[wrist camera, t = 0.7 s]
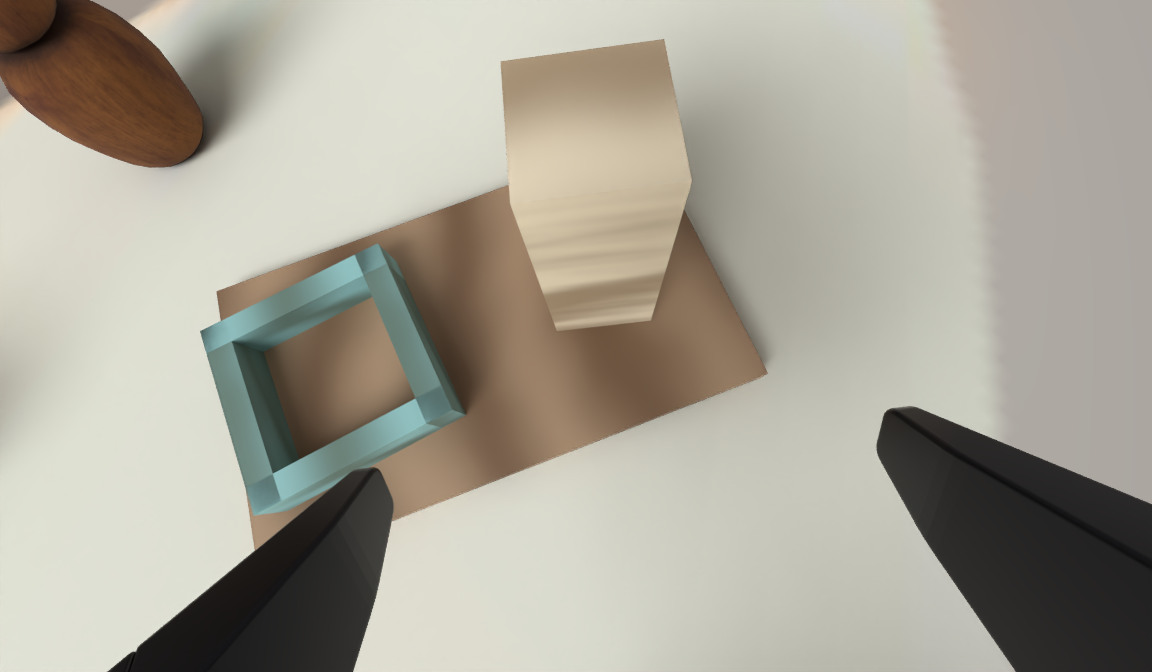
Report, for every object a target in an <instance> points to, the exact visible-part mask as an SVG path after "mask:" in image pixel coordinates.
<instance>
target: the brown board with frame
mask: <svg viewBox="0 0 1152 672" xmlns="http://www.w3.org/2000/svg"><path fill="white" fill-rule="evenodd" d="M217 298H218V305H219V311H220V318H221V321H220V322H218V323H216V324H214V325H212V326H210V327H208V328H206V329H204V330H202V331H200V333H201V336H202V339H203V343H204V346H205V350H206V353H207V357H208V360H209V364H210V367H211V370H212V374H213V377H214V381H215V384H216V388H217V391H218V394H219V398H220V401H221V405H222V408H223V412H224V415H225V419H226V422H227V425H228V429H229V432H230V436H231V439H232V443H233V446H234V450H235V453H236V456H237V460H238V463H239V467H240V470H241V474H242V477H243V481H244V484H245V487H246V494H247V501H248V507H249V514H250V521H251V528H252V534H253V541H254V548H255V550H256V549H257V548H259V547H260V546H261V545H262V544H264V543H265V542H266V541H267V540H268V539H270V538H271V537H272V536H273V535H274V534H276V533H277V532H278V531H279V530H281V529H282V528H283V527H284V526H285V525H287V524H288V523H289V522H290V521H291V520H293V519H294V518H295V517H296V516H298V515H299V514H300V513H301V512H302V511H304V510H305V509H306V508H307V507H309V506H310V505H311V504H312V503H313V502H315V501H316V500H317V499H318V498H319V497H321V496H322V495H323V494H324V493H326V492H327V491H328V490H329V489H330V488H332V487H333V486H334V485H335V484H336V483H338V482H339V481H340V480H341V479H343V478H344V477H345V476H346V475H347V474H349V473H350V472H351V471H353V470H355V469H361V468H370V467H375V468H378V469H379V470H380V471H381V473H382V475H383V477H384V480H385V482H386V484H387V486H388V489H389V491H390V493H391V496H392V498H393V502H394V512H393V517H392V521H394V520H396V519H399V518H401V517H404V516H406V515H409V514H411V513H414V512H417V511H419V510H422V509H424V508H427V507H429V506H432V505H435V504H437V503H440V502H442V501H445V500H447V499H450V498H453V497H455V496H458V495H460V494H463V493H465V492H468V491H471V490H473V489H476V488H478V487H481V486H483V485H486V484H489V483H491V482H494V481H496V480H499V479H501V478H504V477H506V476H509V475H512V474H514V473H517V472H519V471H522V470H524V469H527V468H530V467H532V466H535V465H537V464H540V463H542V462H545V461H548V460H550V459H553V458H555V457H558V456H560V455H563V454H566V453H568V452H571V451H573V450H576V449H578V448H581V447H584V446H586V445H589V444H591V443H594V442H596V441H599V440H601V439H604V438H607V437H609V436H612V435H614V434H617V433H619V432H622V431H625V430H627V429H630V428H632V427H635V426H637V425H640V424H643V423H645V422H648V421H650V420H653V419H655V418H658V417H661V416H663V415H666V414H668V413H671V412H673V411H676V410H678V409H681V408H684V407H686V406H689V405H691V404H694V403H696V402H699V401H702V400H704V399H707V398H709V397H712V396H714V395H717V394H720V393H722V392H725V391H727V390H730V389H732V388H735V387H738V386H740V385H743V384H745V383H748V382H750V381H753V380H756V379H758V378H761V377H762V376H764V375H766V374H767V371H766V369H765V367H764V365H763V363H762V361H761V359H760V357H759V355H758V353H757V351H756V349H755V347H754V345H753V343H752V341H751V339H750V337H749V336H748V334H747V332H746V330H745V328H744V326H743V324H742V322H741V320H740V318H739V316H738V314H737V312H736V310H735V308H734V306H733V304H732V302H731V300H730V298H729V296H728V294H727V293H726V291H725V289H724V287H723V285H722V283H721V281H720V279H719V277H718V275H717V273H716V271H715V269H714V267H713V265H712V263H711V261H710V259H709V257H708V255H707V253H706V252H705V250H704V248H703V246H702V244H701V242H700V240H699V238H698V236H697V234H696V232H695V230H694V228H693V226H692V224H691V222H690V220H689V218H688V216H687V214H686V212H685V210H684V211H683V214H682V217H681V221H680V224H679V227H678V231H677V234H676V238H675V241H674V244H673V248H672V251H671V254H670V258H669V261H668V265H667V268H666V271H665V275H664V278H663V281H662V285H661V288H660V292H659V295H658V298H657V302H656V305H655V308H654V312H653V315H652V318H651V321H643V322H634V323H625V324H617V325H608V326H599V327H590V328H582V329H573V330H564V331H557V330H556V327H555V324H554V322H553V319H552V316H551V314H550V311H549V308H548V305H547V303H546V300H545V297H544V295H543V292H542V289H541V286H540V284H539V281H538V278H537V276H536V273H535V270H534V267H533V265H532V262H531V259H530V257H529V254H528V251H527V248H526V246H525V243H524V240H523V238H522V235H521V232H520V230H519V227H518V224H517V221H516V219H515V216H514V213H513V211H512V208H511V205H510V195H509V185H508V186H505V187H502V188H500V189H497V190H494V191H491V192H489V193H486V194H483V195H480V196H478V197H475V198H472V199H469V200H467V201H464V202H461V203H458V204H456V205H453V206H450V207H447V208H445V209H442V210H439V211H436V212H434V213H431V214H428V215H425V216H423V217H420V218H417V219H414V220H412V221H409V222H406V223H403V224H401V225H398V226H395V227H392V228H390V229H387V230H384V231H381V232H379V233H376V234H373V235H370V236H368V237H365V238H362V239H359V240H357V241H354V242H351V243H348V244H346V245H343V246H340V247H337V248H335V249H332V250H329V251H326V252H324V253H321V254H318V255H315V256H313V257H310V258H307V259H304V260H302V261H299V262H296V263H293V264H291V265H288V266H285V267H282V268H280V269H277V270H274V271H271V272H269V273H266V274H263V275H260V276H258V277H255V278H252V279H249V280H247V281H244V282H241V283H238V284H236V285H233V286H230V287H227V288H225V289H222V290H219V291H217Z"/></svg>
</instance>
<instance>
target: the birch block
mask: <svg viewBox="0 0 1152 672" xmlns="http://www.w3.org/2000/svg"><path fill="white" fill-rule="evenodd" d="M501 74H502V89H503V104H504V119H505V134H506V150H507V165H508V180H509V195H510V205H511V208H512V211H513V213H514V216H515V219H516V221H517V224H518V227H519V230H520V232H521V235H522V238H523V240H524V243H525V246H526V248H527V251H528V254H529V257H530V259H531V262H532V265H533V267H534V270H535V273H536V276H537V278H538V281H539V284H540V286H541V289H542V292H543V295H544V297H545V300H546V303H547V305H548V308H549V311H550V314H551V316H552V319H553V322H554V324H555V327H556V330H557V331H564V330H573V329H582V328H590V327H599V326H608V325H617V324H625V323H634V322H643V321H651V318H652V315H653V312H654V308H655V305H656V302H657V298H658V295H659V292H660V288H661V285H662V281H663V278H664V275H665V271H666V268H667V265H668V261H669V258H670V254H671V251H672V248H673V244H674V241H675V238H676V234H677V231H678V227H679V224H680V221H681V217H682V214H683V211H684V207H685V204H686V200H687V197H688V194H689V190H690V187H691V184H692V178H691V173H690V168H689V163H688V158H687V153H686V148H685V143H684V137H683V132H682V127H681V122H680V117H679V112H678V107H677V102H676V97H675V92H674V87H673V82H672V77H671V72H670V67H669V62H668V57H667V52H666V47H665V42H664V39H662V40H655V41H647V42H640V43H633V44H625V45H618V46H611V47H603V48H596V49H589V50H581V51H574V52H567V53H559V54H552V55H544V56H537V57H530V58H522V59H515V60H508V61H501Z"/></svg>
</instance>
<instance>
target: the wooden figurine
mask: <svg viewBox="0 0 1152 672" xmlns="http://www.w3.org/2000/svg"><path fill="white" fill-rule="evenodd" d="M0 76H1V78H2V80H3V82H4V84H5V86H6V88H7V89H8V91H9V93H10V94H11V95H12V96H13V97H14V98H15V99H16V100H17V101H18V102H19V103H20V104H21V105H22V106H23V107H24V108H25V109H26V110H27V111H28V112H30V113H31V114H33V115H34V116H35V117H37V118H38V119H39V120H41V121H42V122H44V123H45V124H46V125H48V126H49V127H51V128H52V129H54V130H56V131H57V132H59V133H61V134H62V135H64V136H66V137H68V138H69V139H71V140H73V141H75V142H77V143H79V144H82V145H84V146H86V147H88V148H91V149H93V150H95V151H98V152H100V153H103V154H105V155H108V156H110V157H113V158H116V159H118V160H121V161H124V162H127V163H130V164H133V165H139V166H144V167H150V168H151V167H171V166H173V165H176V164H178V163H180V162H182V161H184V160H185V159H186V158H188V157H189V156H191V155H192V154H193V153H194V151H195V150H196V148H197V147H198V145H199V143H200V140H201V137H202V134H203V116H202V114H201V111H200V109H199V107H198V105H197V103H196V101H195V100H194V98H193V96H192V95H191V93H190V92H189V90H188V89H187V87H186V86H185V84H184V83H183V81H182V80H181V78H180V77H179V75H178V74H177V72H176V71H175V69H174V68H173V67H172V65H171V64H170V63H169V61H168V60H167V59H166V58H165V56H164V55H163V54H162V52H161V51H160V50H159V49H158V48H157V47H156V46H155V45H154V44H153V43H152V42H151V41H150V40H149V39H148V38H147V37H145V36H144V35H143V34H142V33H141V32H140V31H139V30H138V29H136V28H135V27H134V26H132V25H131V24H129V23H128V22H127V21H125V20H124V19H123V18H121V17H120V16H118V15H117V14H116V13H114V12H112V11H110V10H108V9H106V8H104V7H102V6H100V5H99V4H97V3H95V2H93V1H90V0H0Z"/></svg>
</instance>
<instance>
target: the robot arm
mask: <svg viewBox="0 0 1152 672" xmlns="http://www.w3.org/2000/svg"><path fill="white" fill-rule="evenodd" d="M877 454H878V457H879V459H880V461H881V463H882V465H883V466H884V468H885V470H886V472H887V474H888V475H889V477H890V479H891V481H892V482H893V484H894V486H895V488H896V490H897V491H898V493H899V495H900V497H901V499H902V500H903V502H904V504H905V506H906V508H907V509H908V511H909V513H910V515H911V517H912V518H913V520H914V522H915V524H916V526H917V527H918V529H919V531H920V532H921V534H922V536H923V537H924V539H925V541H926V542H927V544H928V545H929V547H930V548H931V550H932V551H933V553H934V554H935V556H936V557H937V558H938V560H939V561H940V563H941V564H942V566H943V567H944V569H945V570H946V571H947V573H948V574H949V576H950V577H951V579H952V580H953V582H954V583H955V584H956V586H957V587H958V589H959V590H960V592H961V593H962V595H963V596H964V597H965V599H966V600H967V602H968V603H969V605H970V606H971V608H972V609H973V610H974V612H975V613H976V615H977V616H978V618H979V619H980V621H981V622H982V623H983V625H984V626H985V628H986V629H987V631H988V632H989V634H990V635H991V636H992V638H993V639H994V641H995V642H996V644H997V645H998V647H999V648H1000V649H1001V651H1002V652H1003V654H1004V655H1005V657H1006V658H1007V660H1008V661H1009V662H1010V664H1011V665H1012V667H1013V668H1014V670H1015V671H1016V672H1152V504H1150V503H1148V502H1145V501H1143V500H1140V499H1138V498H1135V497H1133V496H1130V495H1128V494H1126V493H1123V492H1121V491H1118V490H1116V489H1114V488H1111V487H1109V486H1106V485H1104V484H1101V483H1099V482H1096V481H1094V480H1092V479H1089V478H1087V477H1084V476H1082V475H1080V474H1077V473H1075V472H1072V471H1070V470H1067V469H1065V468H1063V467H1060V466H1058V465H1055V464H1053V463H1050V462H1048V461H1045V460H1043V459H1041V458H1038V457H1036V456H1033V455H1031V454H1029V453H1026V452H1024V451H1021V450H1019V449H1016V448H1014V447H1012V446H1009V445H1007V444H1004V443H1002V442H999V441H997V440H995V439H992V438H990V437H987V436H985V435H982V434H980V433H978V432H975V431H973V430H970V429H968V428H965V427H963V426H961V425H958V424H956V423H953V422H951V421H948V420H946V419H944V418H941V417H939V416H936V415H934V414H931V413H929V412H927V411H924V410H922V409H919V408H917V407H912V406H908V407H899V408H891V409H889V410H887V411H886V412H885V413H884V416H883V420H882V424H881V428H880V432H879V436H878V440H877ZM393 512H394V502H393V498H392V496H391V493H390V491H389V489H388V486H387V484H386V482H385V480H384V477H383V475H382V473H381V471H380V470H379V469H378V468H375V467H370V468H361V469H355V470H353V471H351V472H350V473H349V474H347V475H346V476H345V477H344V478H343V479H341V480H340V481H339V482H338V483H336V484H335V485H334V486H333V487H332V488H330V489H329V490H328V491H327V492H326V493H324V494H323V495H322V496H321V497H319V498H318V499H317V500H316V501H315V502H313V503H312V504H311V505H310V506H309V507H307V508H306V509H305V510H304V511H302V512H301V513H300V514H299V515H298V516H296V517H295V518H294V519H293V520H291V521H290V522H289V523H288V524H287V525H285V526H284V527H283V528H282V529H281V530H279V531H278V532H277V533H276V534H274V535H273V536H272V537H271V538H270V539H268V540H267V541H266V542H265V543H264V544H262V545H261V546H260V547H259V548H257V549H256V550H255V551H254V552H253V553H251V554H250V555H249V556H248V557H246V558H245V559H244V560H243V561H242V562H240V563H239V564H238V565H237V566H236V567H234V568H233V569H232V570H231V571H229V572H228V573H227V574H226V575H225V576H223V577H222V578H221V579H220V580H219V581H217V582H216V583H215V584H214V585H212V586H211V587H210V588H209V589H208V590H206V591H205V592H204V593H203V594H201V595H200V596H199V597H198V598H197V599H195V600H194V601H193V602H192V603H191V604H189V605H188V606H187V607H186V608H184V609H183V610H182V611H181V612H180V613H178V614H177V615H176V616H175V617H173V618H172V619H171V620H170V621H169V622H167V623H166V624H165V625H164V626H163V627H161V628H160V629H159V630H158V631H156V632H155V633H154V634H153V635H152V636H150V637H149V638H148V639H147V640H145V641H144V642H143V643H142V644H141V645H140V646H138V648H137V651H136V652H131V653H130V654H128V655H127V656H126V657H125V658H123V659H122V660H121V661H120V662H119V663H117V664H116V665H115V666H114V667H113V668H111V669H110V670H109V671H108V672H353V670H354V667H355V664H356V661H357V658H358V654H359V651H360V648H361V645H362V641H363V638H364V635H365V632H366V628H367V625H368V622H369V619H370V616H371V612H372V609H373V605H374V602H375V598H376V595H377V590H378V586H379V582H380V577H381V572H382V567H383V562H384V557H385V552H386V547H387V542H388V537H389V532H390V527H391V522H392V517H393Z"/></svg>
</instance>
